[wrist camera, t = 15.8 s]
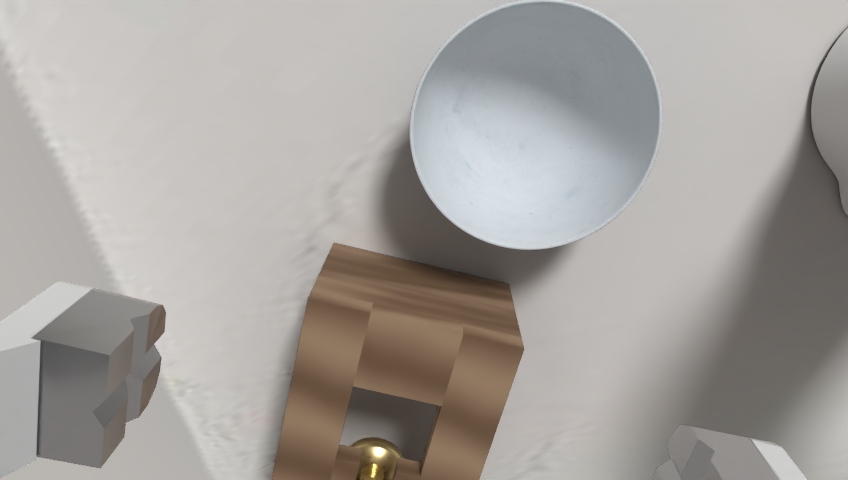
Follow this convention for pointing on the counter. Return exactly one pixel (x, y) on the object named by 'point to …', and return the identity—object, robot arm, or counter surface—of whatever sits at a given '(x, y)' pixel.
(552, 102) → the chinaware
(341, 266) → the keyhole shelf
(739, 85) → the counter surface
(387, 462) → the brass peg
